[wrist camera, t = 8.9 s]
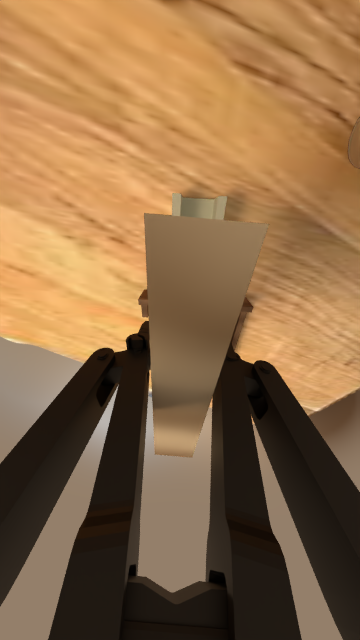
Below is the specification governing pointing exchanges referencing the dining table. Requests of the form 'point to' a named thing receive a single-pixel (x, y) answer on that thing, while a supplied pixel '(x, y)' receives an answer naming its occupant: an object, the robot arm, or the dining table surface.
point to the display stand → (199, 207)
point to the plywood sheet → (193, 315)
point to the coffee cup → (355, 145)
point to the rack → (245, 308)
